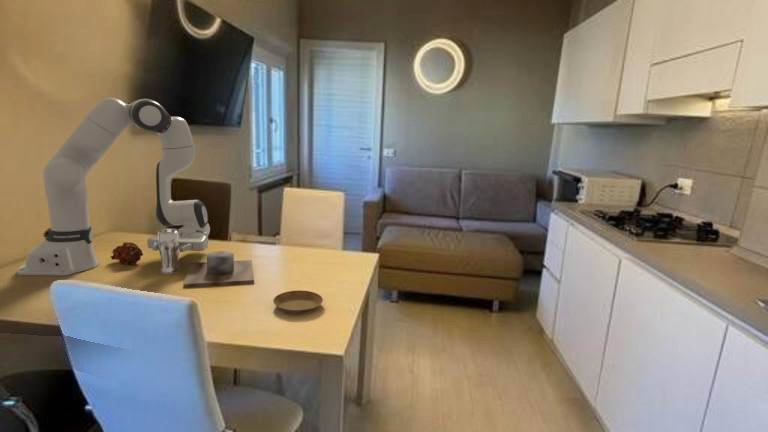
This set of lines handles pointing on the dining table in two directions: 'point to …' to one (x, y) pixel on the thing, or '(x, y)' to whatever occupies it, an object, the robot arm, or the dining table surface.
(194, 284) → the post stand
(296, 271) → the dining table surface
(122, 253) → the brown pine cone
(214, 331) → the dining table surface
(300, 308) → the plant saucer
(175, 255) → the beer glass
